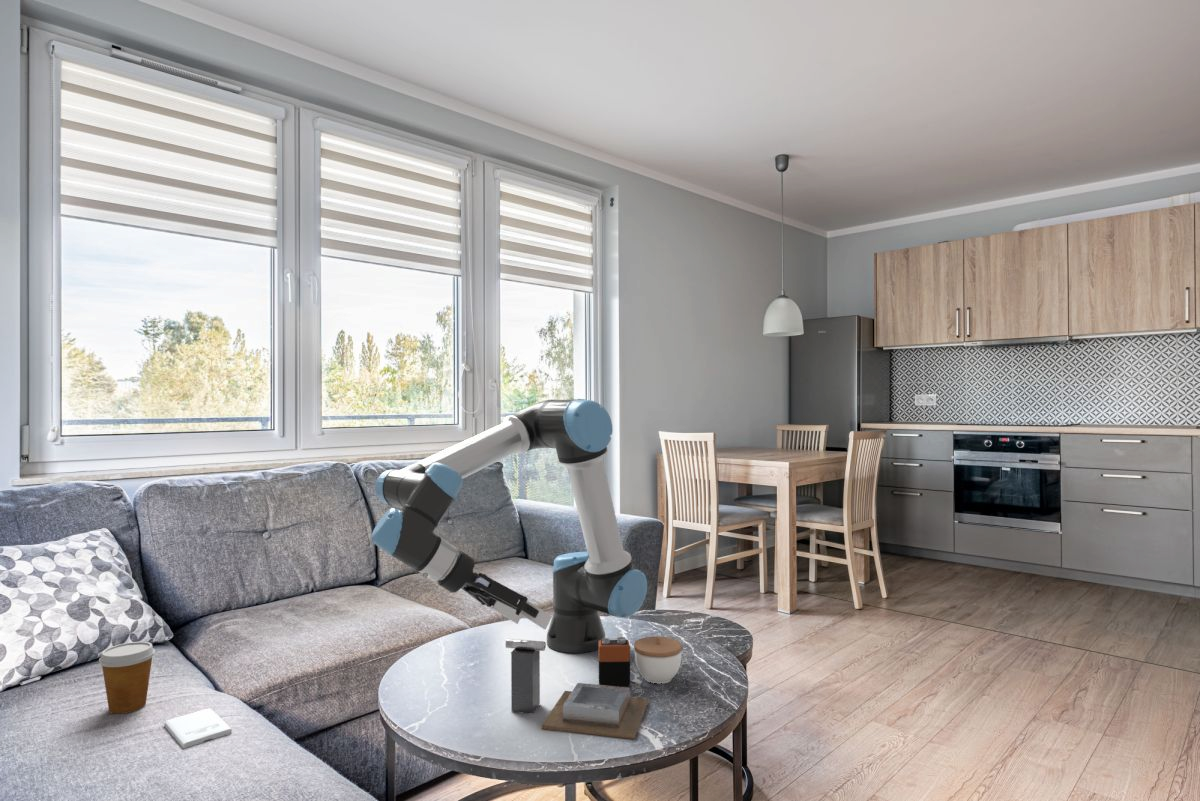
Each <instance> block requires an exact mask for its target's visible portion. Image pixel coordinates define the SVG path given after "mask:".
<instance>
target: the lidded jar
mask: <svg viewBox="0 0 1200 801" xmlns="http://www.w3.org/2000/svg"><path fill="white" fill-rule="evenodd" d="M682 646H683V645H682V643H681V642H680V641H678V640H677V639H675V638H671V637H666V636H657V635H656V636H647V637H642V638H639V639H637V640H636V641H635V642H634V644H633V650H634V661H635V662H634V663H635V665H636V668H637V671H638V672H639V674H640V675H641V676H642V677H643V679H644V681H646V682H647V683H650V682H651V683H650V684H654V683H657V684H656V685H663V684H667V683H668V684H669V683H670V682H672V680H673V678H674V677H675V676H676V675H677V674H678V672H679V670H680V667H681V663H682V662H681V660H682V650H683V647H682ZM661 683H662V684H661Z"/></svg>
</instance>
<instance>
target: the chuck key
mask: <svg viewBox="0 0 1200 801" xmlns="http://www.w3.org/2000/svg"><path fill="white" fill-rule="evenodd" d="M546 646H547V642H546V641H543V640H541V641H540V640H528V639H514V638H506V640H505V648H506V649H512V650H511V652H510V654H511V657H510V658H511V662H510V664H511V665H510V666H511V667H510V668H511V669H510V670H511V671H510V674H511V679H510V680H511V696H510V697H511V698H510V699H511V706H510V707H511V711H514V713H519V712H523V713H522V714H529V713H533V714H534V711H535V712H536V710H537V709H538V707H539V706H540V705H541V702H540V699H541V698H540V697H541V696H540V694H541V678H540V677H541V674H540V673H541V672H540V671H541V667H540V664H541V663H540V658H541V656H540V653H541V652H544V651H545V650H546ZM540 651H541V652H540ZM539 704H540V705H539ZM538 705H539V706H538ZM536 708H537V709H536Z"/></svg>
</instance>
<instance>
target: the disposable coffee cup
mask: <svg viewBox="0 0 1200 801" xmlns="http://www.w3.org/2000/svg"><path fill="white" fill-rule="evenodd" d="M153 647H154V646H153V643H151V642H149V641H132V642H131V641H130V642H125V643H120V644H117V645H113V646H110V647H108V648H106V649H104V650H103V651H102V652H101V656H100V657H99V659H98V662H99V663H100V666H101V668H102V673H103V680H104V687H105V694H106V699H107V707H108V712H109V713H110V714H114V715H120V714H128V713H131V712H135V711H138V710H140V709H142V708H143V707H146V706H145V705H147V698H148V691H149V690H148V688H149V683H150V675H151V668H152V661H153V656H154V654H155V653H156V649H155V648H153Z"/></svg>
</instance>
